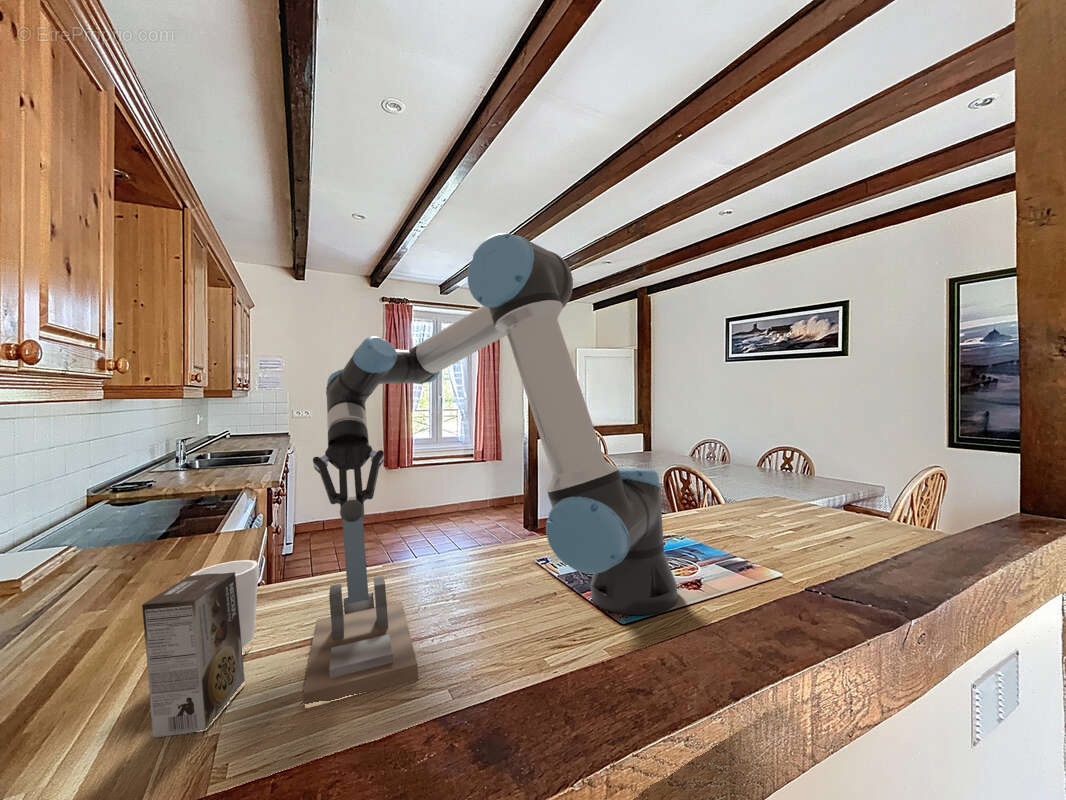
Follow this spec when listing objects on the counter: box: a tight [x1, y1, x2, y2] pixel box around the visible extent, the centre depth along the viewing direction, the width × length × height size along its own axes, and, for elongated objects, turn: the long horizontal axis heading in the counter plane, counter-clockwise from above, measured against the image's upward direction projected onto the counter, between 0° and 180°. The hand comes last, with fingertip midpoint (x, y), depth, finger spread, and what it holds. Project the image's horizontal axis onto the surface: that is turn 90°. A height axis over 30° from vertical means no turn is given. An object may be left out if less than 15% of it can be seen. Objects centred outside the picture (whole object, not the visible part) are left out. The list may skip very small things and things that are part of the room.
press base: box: [302, 575, 419, 705], centre depth 72 cm, size 22×14×9 cm, turn 21°
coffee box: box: [141, 572, 246, 738], centre depth 60 cm, size 9×6×16 cm
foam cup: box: [189, 559, 260, 647], centre depth 75 cm, size 10×9×13 cm
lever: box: [339, 500, 375, 614], centre depth 75 cm, size 4×4×18 cm
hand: (353, 533), depth 80 cm, fingers closed
